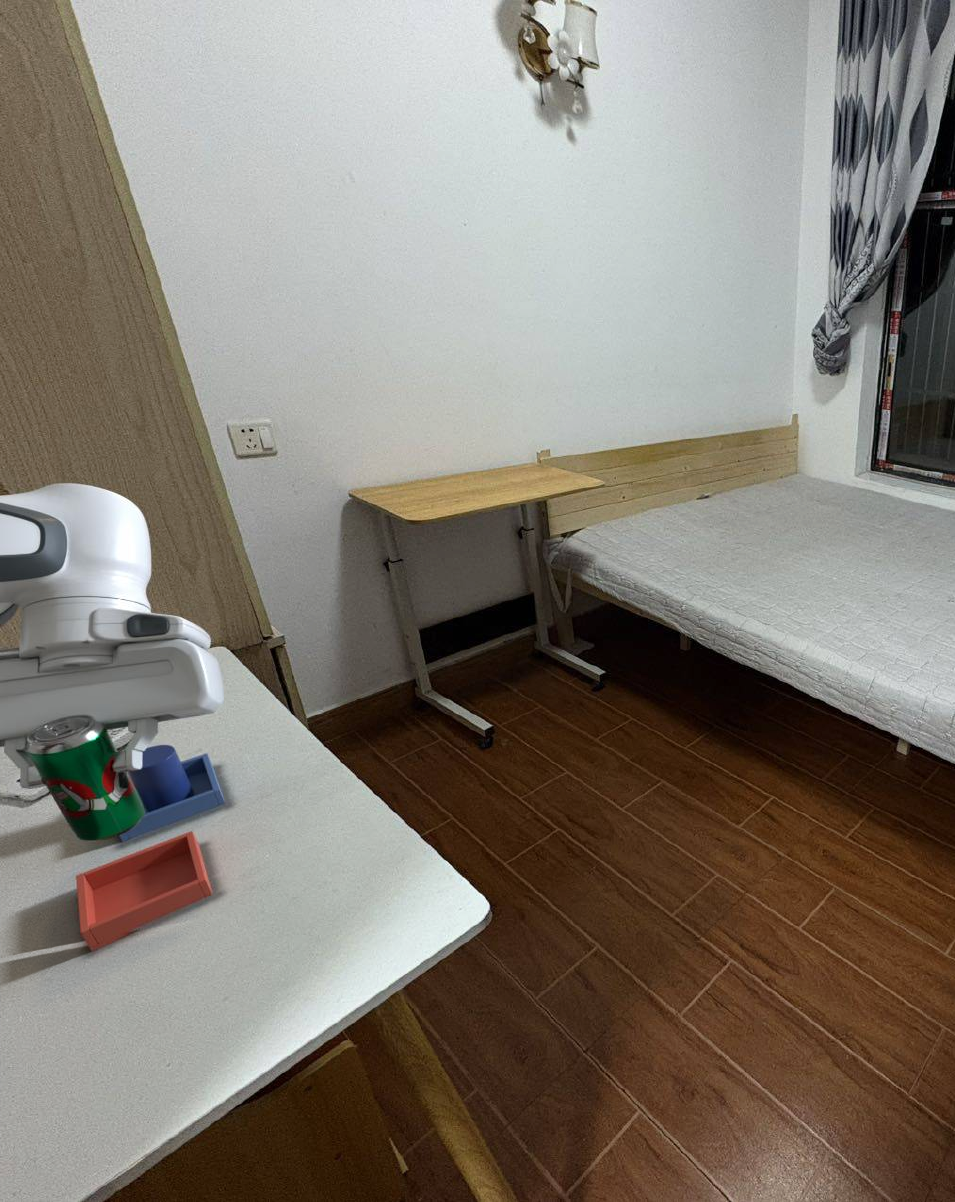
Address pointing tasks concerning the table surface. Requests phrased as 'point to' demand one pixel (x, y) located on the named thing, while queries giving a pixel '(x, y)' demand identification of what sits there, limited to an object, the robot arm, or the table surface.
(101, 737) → the soda can
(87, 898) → the red tray
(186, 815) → the blue tray
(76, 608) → the robot arm
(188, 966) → the table surface
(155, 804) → the blue solid cylinder
